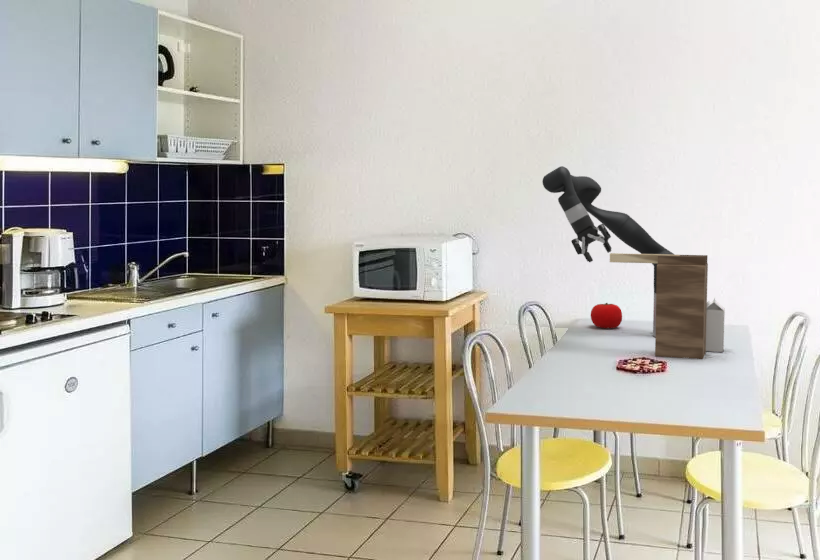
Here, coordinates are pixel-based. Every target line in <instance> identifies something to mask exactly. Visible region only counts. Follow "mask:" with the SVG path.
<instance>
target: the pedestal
mask: <svg viewBox="0 0 820 560" xmlns="http://www.w3.org/2000/svg"><path fill="white" fill-rule="evenodd" d="M679 255H680V256H658V265H657V283H656V335H655V337H654V338H655V343H654V344H655V347H654V357H662V358H678V359H693V360H694V359H697V360H703V359H704V357H705V355H706V354H707V351H706V318H707V302H708V274H709V273H708V271H709V270H708V269H709V264H708V255H706V254H679Z"/></svg>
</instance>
